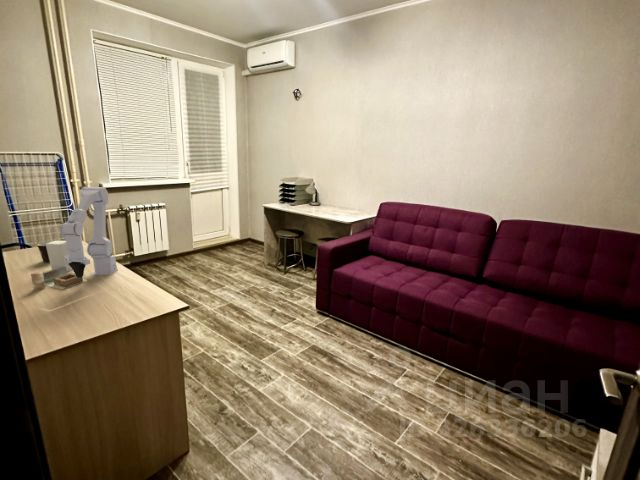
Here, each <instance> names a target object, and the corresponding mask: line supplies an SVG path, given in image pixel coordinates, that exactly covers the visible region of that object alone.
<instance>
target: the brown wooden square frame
mask: <svg viewBox="0 0 640 480" xmlns="http://www.w3.org/2000/svg"><path fill="white" fill-rule="evenodd" d="M83 277H84V276H83ZM83 277H80V278H78V277H77V276H76V275H75V273H74V272H69V273H67V274H66V275H62V276H59V277H56V278H53V280H54V284H55V285H58V286H62V287H67V288H70V287H72V286H71V285H73V286H75V285H74V284H76V285H78V284H77V283H79V284H81V283H84V282H83V279H84V278H83ZM80 282H81V283H80ZM69 286H70V287H69Z"/></svg>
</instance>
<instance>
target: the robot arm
mask: <svg viewBox="0 0 640 480" xmlns="http://www.w3.org/2000/svg"><path fill="white" fill-rule="evenodd" d="M80 197H81V199H80V201H79V203H78V206H77V208H76V209H73V210H72V212H71V214H70V215H69V217H68V219H67V221H66V222H64V223H62V224H61V226H60V231H59V232H60V233H61V235H62V236H63V239H64V240H65V241H66V245H67V250H68V255H67V256H64V258H65V260H67V262H71V263H69V266H70V267H71V268H72V271H73V273H74V274H75V275H76V276H77V277H78V278H80V277H84V273H85V268H86V266H88V265H90V264H91V260H90V259H88V258H87V257H86V256H85V253H84V246H83V239H82V234H83V232H84V223H85V220H86V219H87V217H88V213H87V211H88V209H90V207H91V205H92V206H93V237H92V238H91V239H90V240H89V241H88V243H87V247H86V252H87V255H88V256H90V258H92V262H93V268H94V272H93V273H91V275H93V276H94V275H112V274H113V273H114V272H117V271H118V266H117V265H118V264H117V260H116V257H115V256H114V255H112V254H113V252H114V251H113V245H112V241H111V240H110V239H109V238H108V237H106V230H107V229H106V224H107V223H106V221H107V220H106V216H107V214H106V213H107V212H106V211H107V206H106V205H108V204H109V191H108V190H107V189H106V187H104V186H82V188H81V190H80Z"/></svg>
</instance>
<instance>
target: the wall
mask: <svg viewBox="0 0 640 480" xmlns="http://www.w3.org/2000/svg"><path fill="white" fill-rule="evenodd" d="M42 274H43V279H44V283H48V282H51V281H54V280H53V278H56V277H59V276H62V275H66V274H68V272H67V270H66V267H65V266H63V267H60V268H56V269H53V270H52V269H50V270H46V271H42Z"/></svg>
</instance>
